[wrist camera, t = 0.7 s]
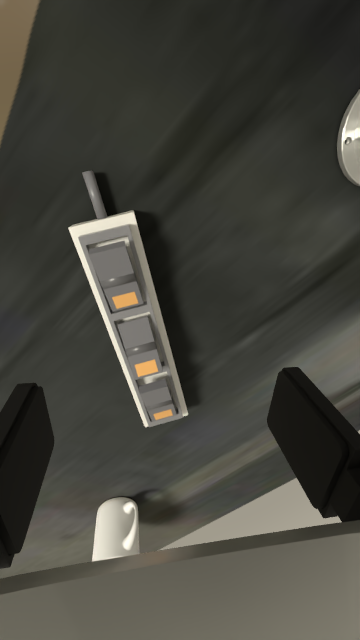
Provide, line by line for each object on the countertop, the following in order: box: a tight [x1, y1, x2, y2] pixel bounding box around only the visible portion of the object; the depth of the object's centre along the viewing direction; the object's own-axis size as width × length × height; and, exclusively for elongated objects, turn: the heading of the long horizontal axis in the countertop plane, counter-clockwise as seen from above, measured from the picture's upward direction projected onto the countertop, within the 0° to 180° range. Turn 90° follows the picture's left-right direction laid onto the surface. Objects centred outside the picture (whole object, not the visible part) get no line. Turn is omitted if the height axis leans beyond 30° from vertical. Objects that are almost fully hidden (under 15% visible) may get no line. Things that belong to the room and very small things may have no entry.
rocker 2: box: [118, 315, 163, 380], centre depth 36 cm, size 4×8×2 cm, turn 12°
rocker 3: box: [139, 379, 177, 422], centre depth 41 cm, size 4×8×2 cm, turn 12°
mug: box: [92, 497, 139, 562], centre depth 53 cm, size 9×12×11 cm
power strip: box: [69, 170, 188, 427], centre depth 38 cm, size 8×38×4 cm, turn 12°
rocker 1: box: [89, 241, 144, 312], centre depth 32 cm, size 4×8×2 cm, turn 12°
